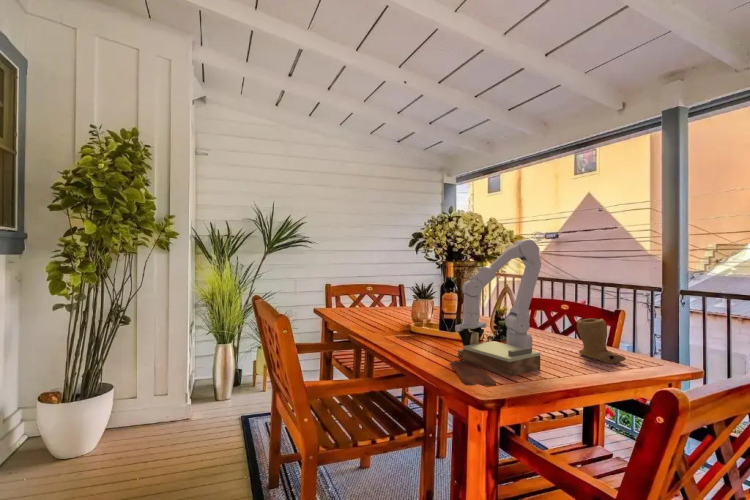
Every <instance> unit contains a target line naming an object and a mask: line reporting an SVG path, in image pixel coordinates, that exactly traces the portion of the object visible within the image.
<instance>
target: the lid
mask: <svg viewBox="0 0 750 500" xmlns="http://www.w3.org/2000/svg"><path fill="white" fill-rule="evenodd" d="M462 349H466V350H469V351H473V352H476V353H480V354H483V355H487V356H490V357H494V358H497V359H500V360H504V361H507V362H512V361H517V360H521V359H526V358H531V357H535V356H540V357H541V352H540V351H535V350H533V347H532V348H529V347H526V348H520V347H516V346H512V345H508V344H507V343H503V342H499V341H497V340H496V341H495V340H492V341H486V342H479V344H472V345H466V346H463V345H462Z"/></svg>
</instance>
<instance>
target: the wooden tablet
mask: <svg viewBox="0 0 750 500" xmlns="http://www.w3.org/2000/svg"><path fill="white" fill-rule="evenodd" d="M449 365H450V367H452V369H453V370H454V371H455V372H456V375H457V376H458V377H459V378H460V380H461V381H462V383H463V384H464V385H466V386H476V385H480V386H487V387H488V386H492V387H493V386H496V385H497V383H496V381H495V380H494V379H493V378H492V377H491V376H490V375H489V374H488V373H487V372H486V371H485V369H484V370H483V368H481V367H479V366H477V365H475V364H472V363H469V362H465V361H463V360H459V361H457V360H456V361H455V360H454V361H450V362H449Z"/></svg>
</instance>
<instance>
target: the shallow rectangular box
mask: <svg viewBox="0 0 750 500" xmlns="http://www.w3.org/2000/svg"><path fill="white" fill-rule="evenodd" d="M457 356H458V357H462V361H465V362H469V363H472V364H475V365H477V366H479V367H480V368H481V369H484V370H488V371H490V372H493V373H497V374H500V375H503V376H507V377H514V376H517V375H521V374H522V375H523V374H526V373H529V372H534V371H537V370H538V371H539V370H541V355H540V356H535V357H531V358H526V359H521V360H517V361H512V362H507V361H504V360H500V359H497V358H494V357H490V356H487V355H483V354H480V353H476V352H473V351H469V350H466V349H463V348H462V349H458V350H457Z"/></svg>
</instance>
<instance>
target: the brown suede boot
mask: <svg viewBox="0 0 750 500" xmlns="http://www.w3.org/2000/svg"><path fill="white" fill-rule="evenodd" d="M576 329H577V332H578V334H579V337H580V339H581V342H582V345H583V346H582V347H583V348H582V349H580V350H578V354H580V355H582V356H585V357H588V358H591V359H593V360H597V361H600V362H603V363H607V364H618V363H621V362H625V361H626V359H627V358H626V357H625V356H623V355H621V354H617V353H614V352H612V351H609V350H608V349H607V340H608V339H607V338H608V326H607V322H606V321H605V319H603V318H599V319H597V318H585V319H579V320H578V321H577V322H576Z"/></svg>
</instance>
